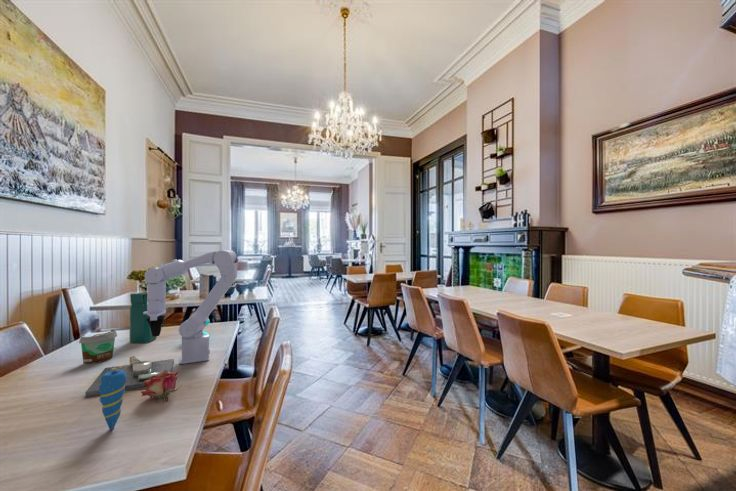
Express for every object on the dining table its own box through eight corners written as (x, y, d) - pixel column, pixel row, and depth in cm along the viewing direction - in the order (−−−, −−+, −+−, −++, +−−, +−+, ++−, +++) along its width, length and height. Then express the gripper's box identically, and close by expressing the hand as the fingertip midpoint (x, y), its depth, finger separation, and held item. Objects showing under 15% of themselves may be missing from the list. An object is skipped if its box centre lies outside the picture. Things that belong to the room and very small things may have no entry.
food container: (92, 366, 114) (92, 338, 114) (78, 365, 116) (79, 337, 116) (125, 355, 126) (125, 329, 126) (112, 353, 128) (112, 328, 128)
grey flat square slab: (173, 363, 118) (173, 354, 118) (167, 384, 100) (168, 374, 100) (105, 372, 109) (105, 363, 109) (85, 397, 91) (85, 386, 91)
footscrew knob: (153, 372, 105) (153, 363, 105) (135, 377, 101) (135, 367, 101) (140, 362, 114) (140, 354, 114) (123, 366, 110) (123, 357, 110)
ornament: (108, 423, 78) (109, 361, 78) (131, 422, 79) (131, 361, 79) (92, 436, 73) (93, 370, 73) (116, 435, 73) (117, 369, 73)
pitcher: (138, 338, 149) (139, 290, 149) (158, 337, 150) (158, 290, 150) (125, 344, 139) (125, 293, 139) (146, 344, 140) (146, 293, 140)
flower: (191, 390, 93) (183, 364, 95) (162, 397, 84) (154, 368, 87) (166, 406, 94) (160, 380, 97) (136, 414, 86) (129, 386, 88)
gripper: (146, 297, 125) (146, 332, 125) (140, 303, 112) (139, 342, 112) (168, 296, 128) (167, 330, 128) (163, 302, 115) (163, 340, 115)
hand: (156, 335), depth 120 cm, fingers closed
